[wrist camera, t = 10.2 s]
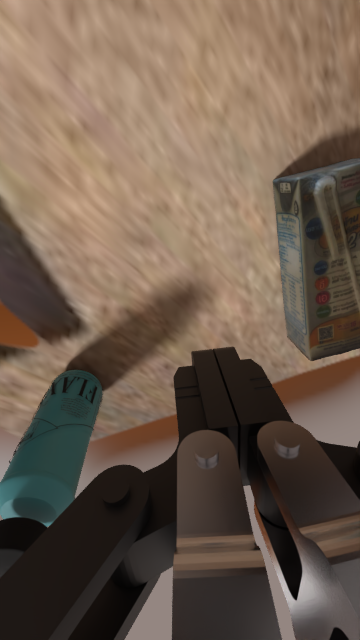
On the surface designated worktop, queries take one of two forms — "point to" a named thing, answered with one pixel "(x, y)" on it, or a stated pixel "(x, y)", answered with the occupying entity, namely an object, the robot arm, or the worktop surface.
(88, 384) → the beverage bottle
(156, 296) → the worktop surface
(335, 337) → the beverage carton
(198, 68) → the worktop surface
